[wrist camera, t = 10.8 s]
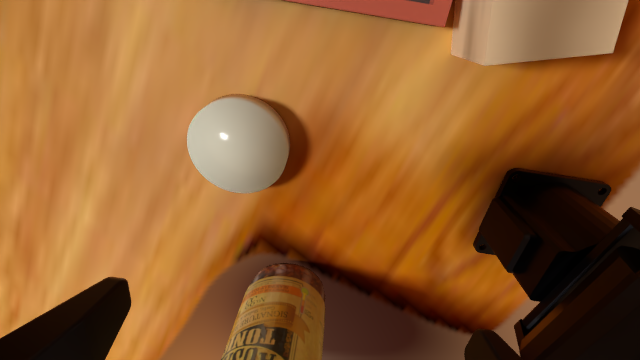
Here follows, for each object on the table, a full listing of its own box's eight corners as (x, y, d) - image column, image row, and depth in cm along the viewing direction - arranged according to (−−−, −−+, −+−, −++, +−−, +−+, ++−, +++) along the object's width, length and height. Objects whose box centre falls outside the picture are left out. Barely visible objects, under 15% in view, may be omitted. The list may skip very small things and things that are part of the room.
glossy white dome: (304, 117, 19) (302, 125, 18) (273, 193, 22) (269, 205, 21) (208, 77, 18) (198, 82, 17) (188, 162, 21) (178, 172, 20)
